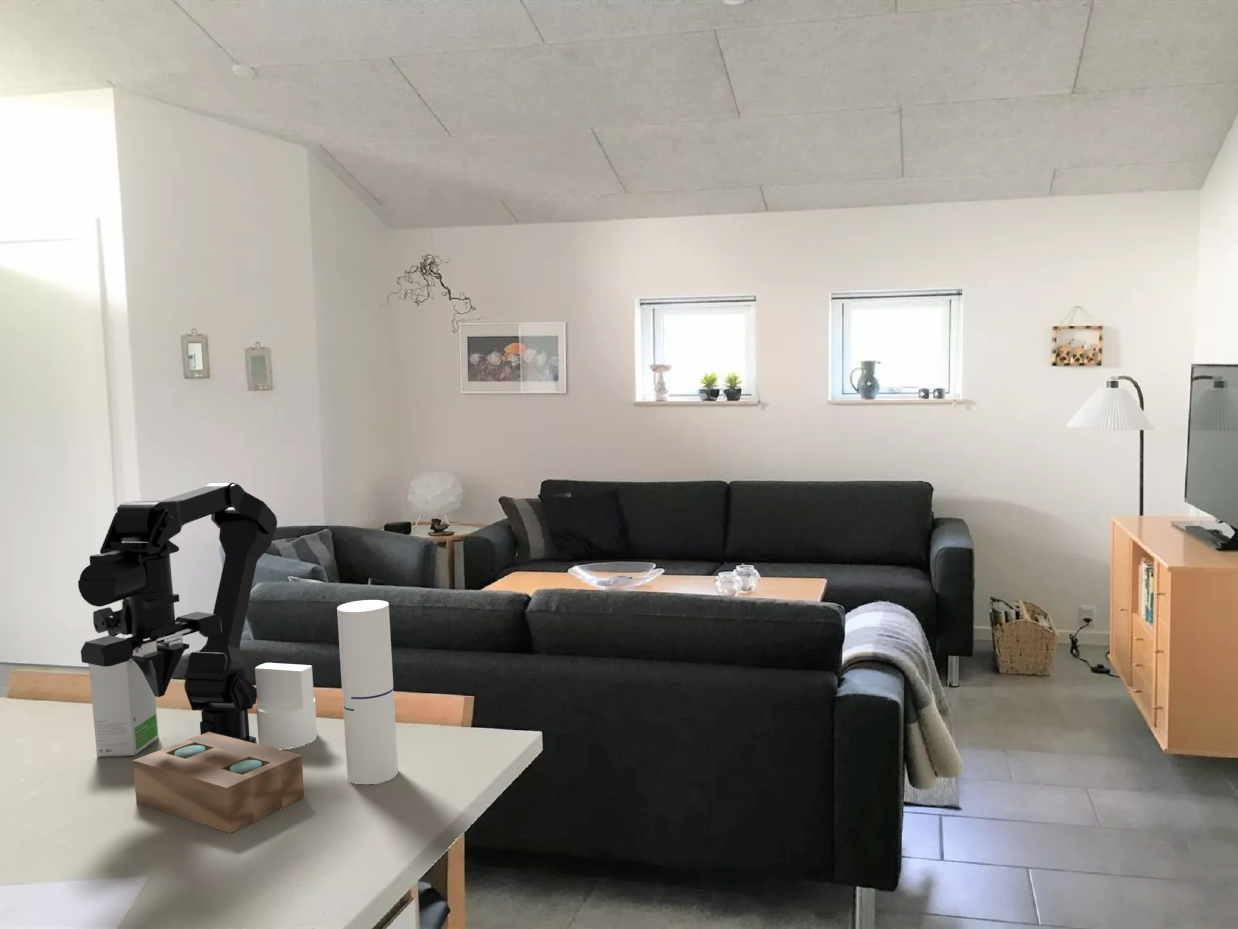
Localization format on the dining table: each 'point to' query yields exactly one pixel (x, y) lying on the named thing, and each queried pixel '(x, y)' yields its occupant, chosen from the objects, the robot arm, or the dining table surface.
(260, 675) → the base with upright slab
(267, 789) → the socket block
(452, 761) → the dining table surface
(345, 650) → the cylindrical container
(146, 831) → the dining table surface
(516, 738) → the dining table surface
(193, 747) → the peg
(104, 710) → the skincare box
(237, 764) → the peg
